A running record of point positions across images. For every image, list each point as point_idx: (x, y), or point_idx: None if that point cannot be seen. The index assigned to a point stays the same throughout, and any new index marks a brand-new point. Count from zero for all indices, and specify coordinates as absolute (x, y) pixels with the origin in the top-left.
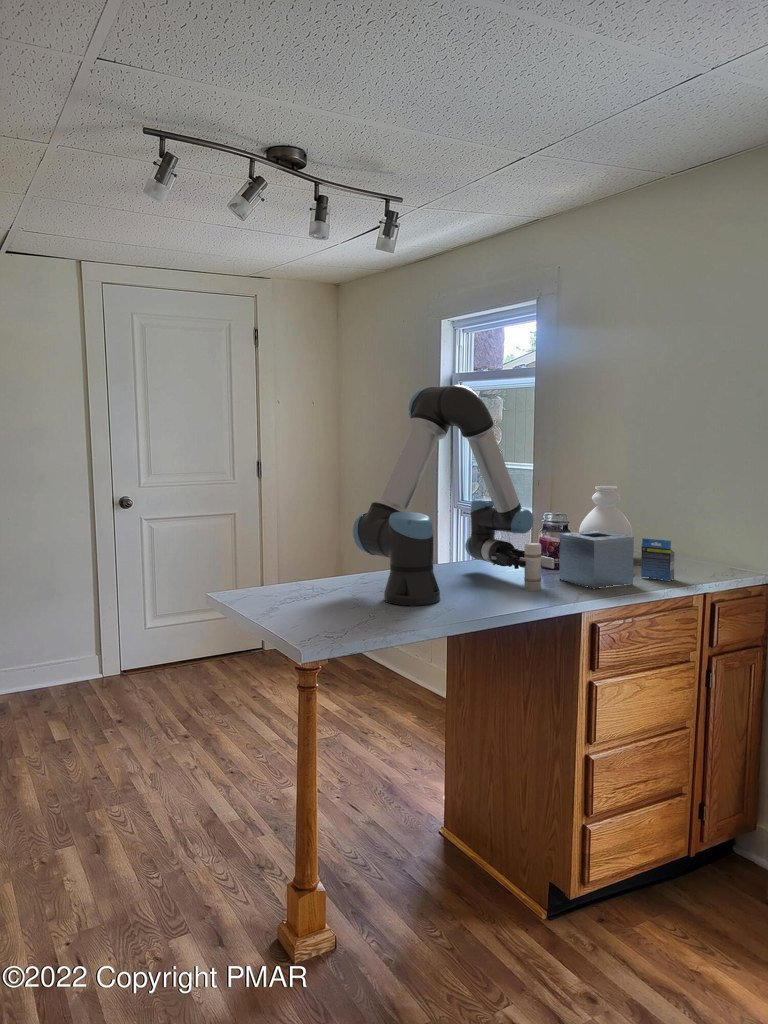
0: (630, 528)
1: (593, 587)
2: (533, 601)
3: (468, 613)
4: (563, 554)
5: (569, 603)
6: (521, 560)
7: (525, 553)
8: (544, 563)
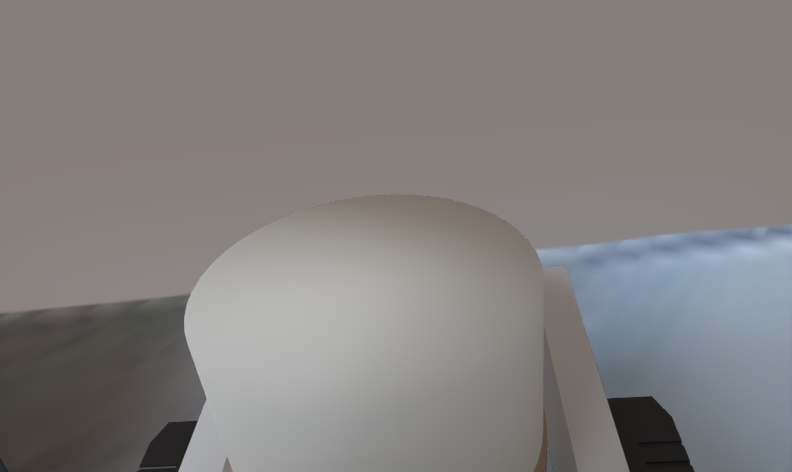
0: None
1: (3, 469)
2: (651, 356)
3: None
4: None
5: None
6: (642, 467)
7: (543, 417)
8: None
